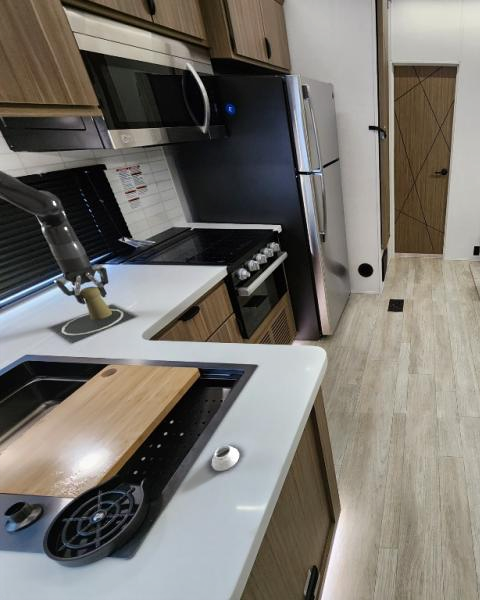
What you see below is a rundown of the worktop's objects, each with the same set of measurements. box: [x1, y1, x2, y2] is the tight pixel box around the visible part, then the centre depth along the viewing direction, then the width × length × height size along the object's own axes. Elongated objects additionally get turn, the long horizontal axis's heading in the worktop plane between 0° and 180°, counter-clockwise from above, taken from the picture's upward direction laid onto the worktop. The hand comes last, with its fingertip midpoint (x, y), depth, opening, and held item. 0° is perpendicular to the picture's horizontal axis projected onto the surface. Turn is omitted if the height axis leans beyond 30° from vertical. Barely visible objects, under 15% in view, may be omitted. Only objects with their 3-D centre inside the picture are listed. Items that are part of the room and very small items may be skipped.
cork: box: [80, 286, 112, 320], centre depth 117 cm, size 6×6×11 cm
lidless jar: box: [211, 444, 240, 472], centre depth 67 cm, size 5×3×5 cm
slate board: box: [50, 304, 136, 344], centre depth 116 cm, size 18×18×1 cm
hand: (93, 299), depth 116 cm, fingers closed on cork, 5 cm apart
